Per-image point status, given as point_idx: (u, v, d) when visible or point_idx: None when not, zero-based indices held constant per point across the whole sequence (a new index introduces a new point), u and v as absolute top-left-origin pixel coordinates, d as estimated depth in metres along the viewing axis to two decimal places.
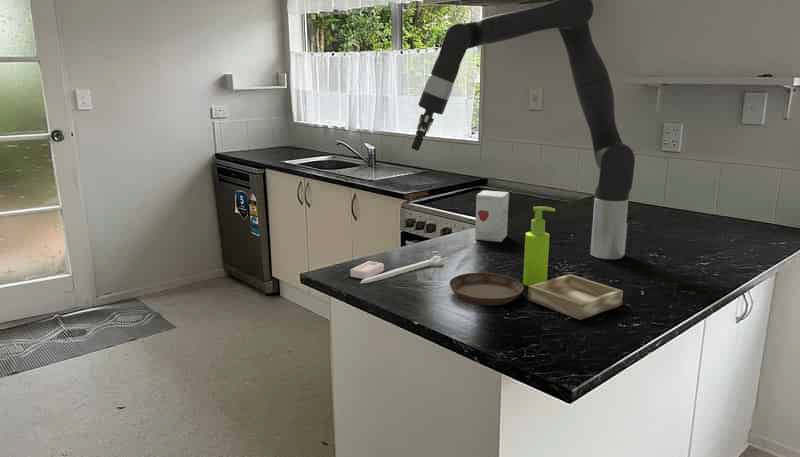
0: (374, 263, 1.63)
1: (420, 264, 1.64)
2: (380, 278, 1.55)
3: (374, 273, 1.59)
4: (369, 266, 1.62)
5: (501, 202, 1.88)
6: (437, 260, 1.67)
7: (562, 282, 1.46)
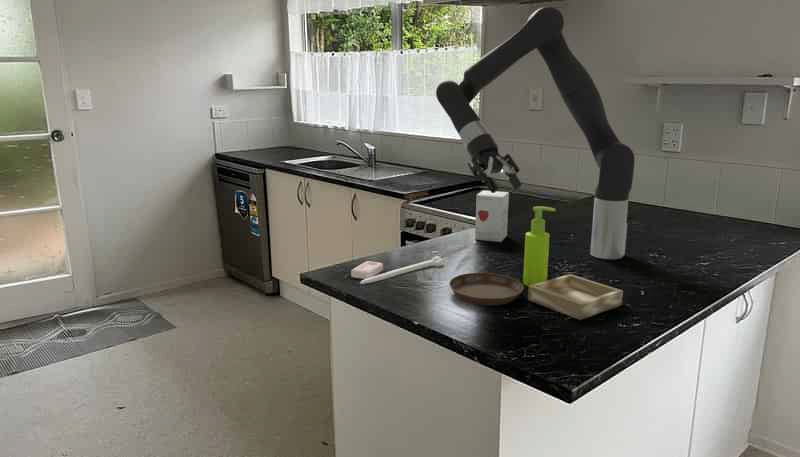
0: (373, 263, 1.63)
1: (420, 265, 1.64)
2: (380, 278, 1.55)
3: (375, 273, 1.59)
4: (369, 266, 1.62)
5: (501, 202, 1.88)
6: (437, 261, 1.66)
7: (562, 282, 1.46)
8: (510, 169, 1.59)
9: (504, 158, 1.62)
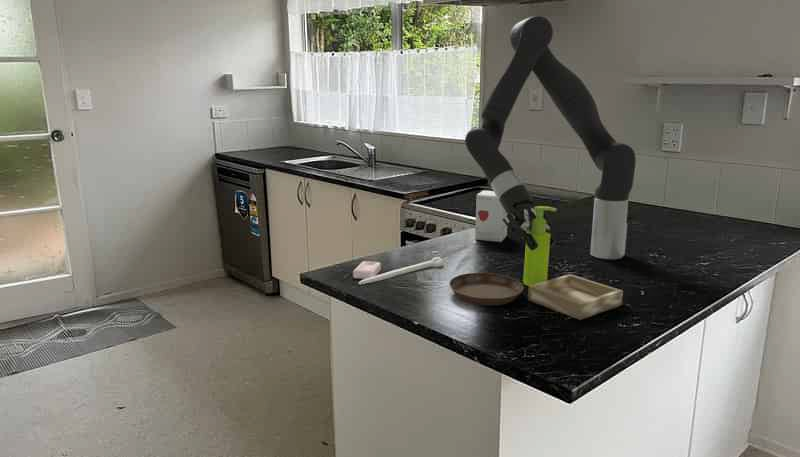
0: (371, 263, 1.63)
1: (420, 265, 1.63)
2: (378, 279, 1.55)
3: (376, 272, 1.59)
4: (368, 266, 1.62)
5: None
6: (437, 261, 1.66)
7: (562, 282, 1.46)
8: None
9: None
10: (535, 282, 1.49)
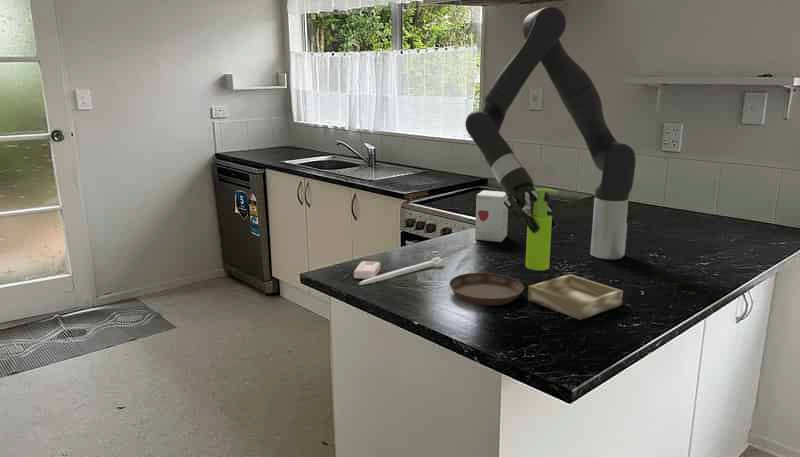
0: (370, 263, 1.63)
1: (420, 265, 1.63)
2: (379, 279, 1.54)
3: (376, 272, 1.59)
4: (367, 266, 1.62)
5: (501, 202, 1.88)
6: (437, 261, 1.65)
7: (562, 282, 1.46)
8: None
9: None
10: (537, 265, 1.48)
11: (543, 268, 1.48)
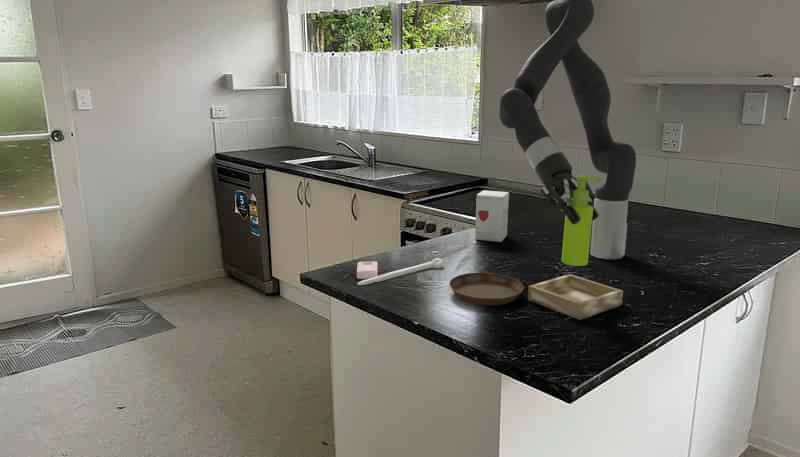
0: (368, 262, 1.63)
1: (420, 266, 1.62)
2: (378, 280, 1.54)
3: None
4: (366, 266, 1.62)
5: (501, 202, 1.88)
6: (437, 262, 1.65)
7: (562, 282, 1.46)
8: None
9: None
10: (576, 260, 1.34)
11: (582, 263, 1.34)
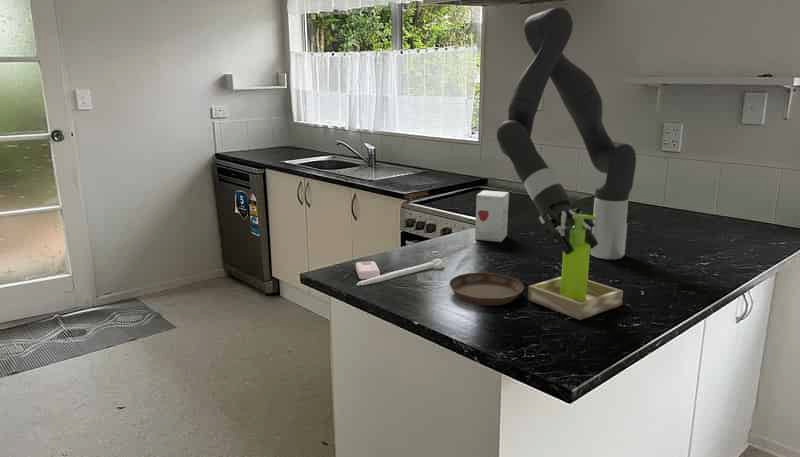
0: (366, 262, 1.63)
1: (420, 267, 1.62)
2: (377, 280, 1.54)
3: None
4: (365, 266, 1.62)
5: (501, 202, 1.88)
6: (437, 263, 1.64)
7: None
8: (584, 225, 1.38)
9: (576, 211, 1.41)
10: (574, 297, 1.36)
11: (580, 300, 1.37)
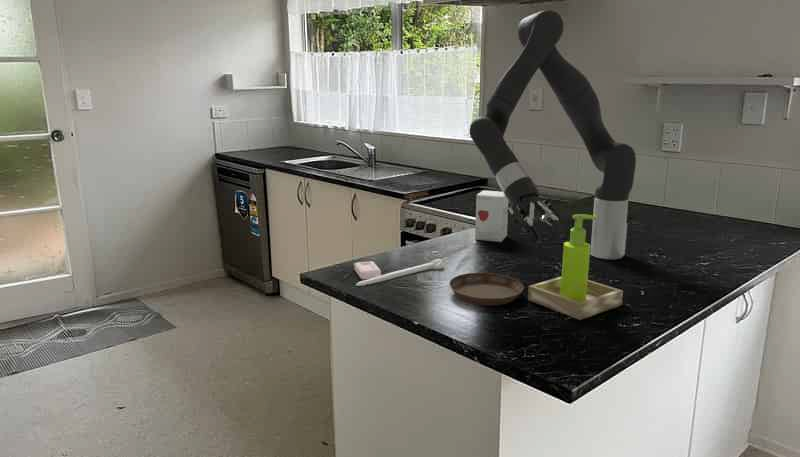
0: (365, 263, 1.63)
1: (420, 267, 1.62)
2: (376, 281, 1.53)
3: None
4: (365, 266, 1.62)
5: (501, 202, 1.88)
6: (438, 263, 1.64)
7: None
8: (552, 215, 1.46)
9: (545, 203, 1.49)
10: (574, 297, 1.36)
11: (580, 300, 1.37)
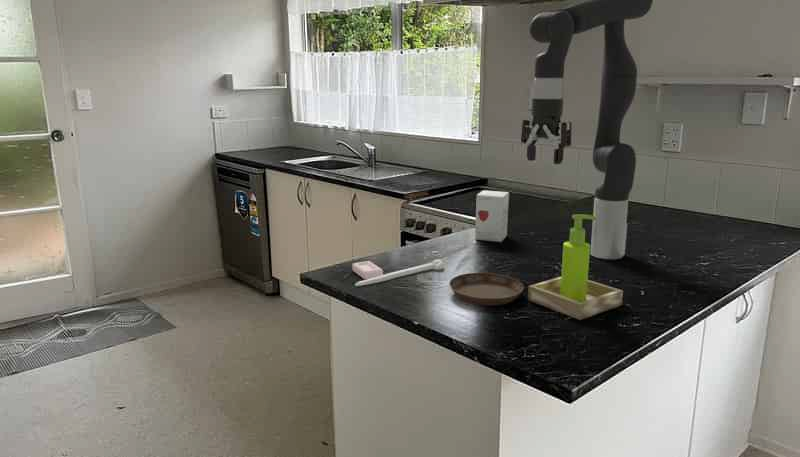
0: (363, 263, 1.63)
1: (419, 268, 1.61)
2: (376, 281, 1.53)
3: None
4: (364, 266, 1.61)
5: (501, 202, 1.88)
6: (438, 264, 1.63)
7: None
8: None
9: None
10: (574, 297, 1.36)
11: (580, 300, 1.37)
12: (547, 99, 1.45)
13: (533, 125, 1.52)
